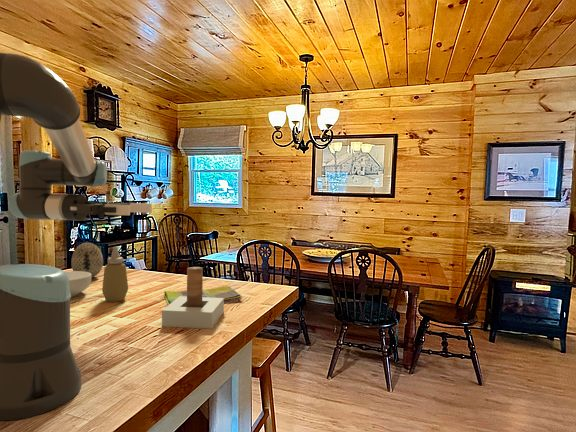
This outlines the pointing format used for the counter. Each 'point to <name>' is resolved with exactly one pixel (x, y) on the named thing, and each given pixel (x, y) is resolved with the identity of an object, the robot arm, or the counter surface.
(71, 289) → the cereal bowl
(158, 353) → the counter surface
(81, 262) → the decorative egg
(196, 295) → the walnut dowel
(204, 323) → the socket block
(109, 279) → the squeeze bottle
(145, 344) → the counter surface
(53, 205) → the robot arm
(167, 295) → the dish towel
